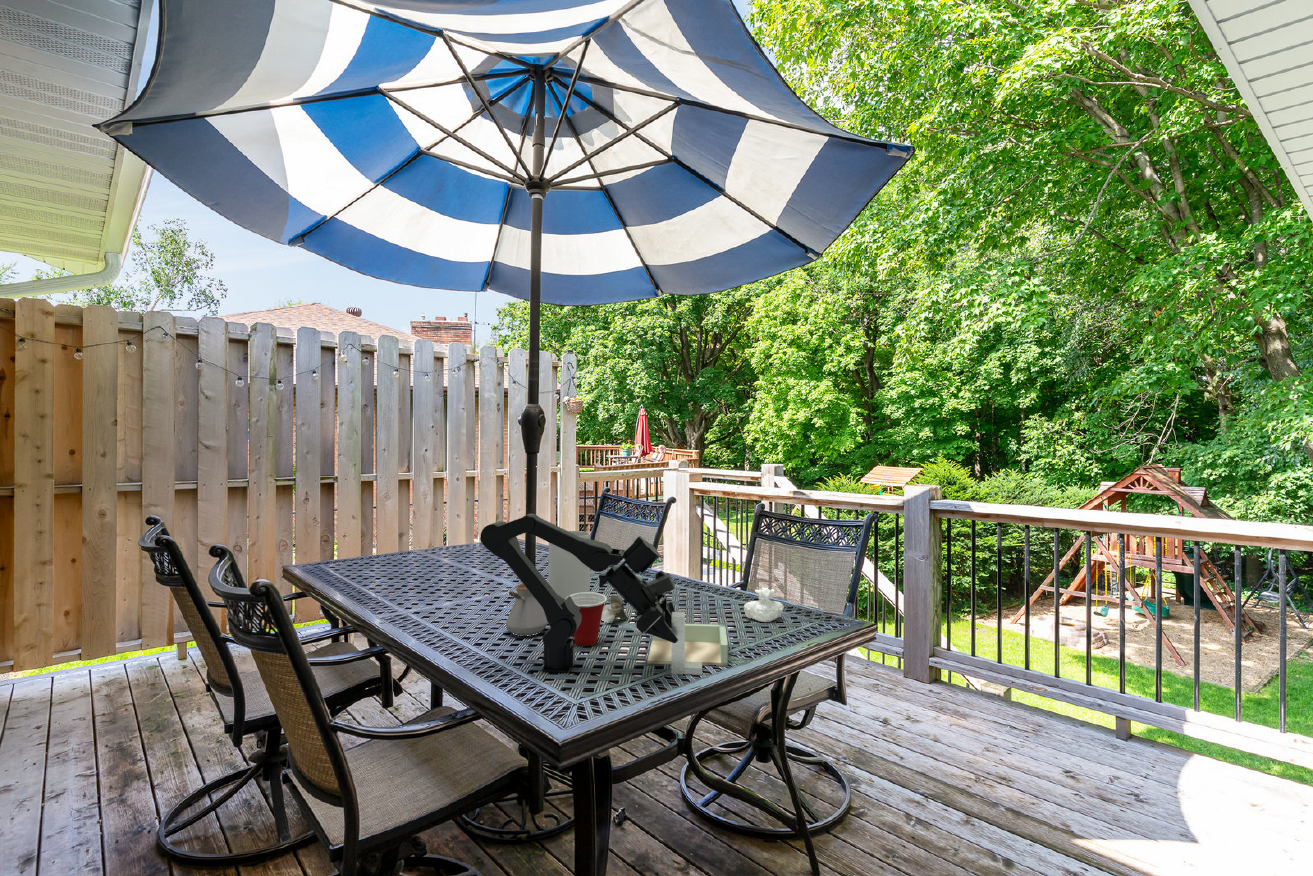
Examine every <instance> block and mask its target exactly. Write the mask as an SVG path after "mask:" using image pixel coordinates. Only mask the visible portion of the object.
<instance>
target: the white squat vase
mask: <svg viewBox="0 0 1313 876" xmlns="http://www.w3.org/2000/svg"><path fill="white" fill-rule="evenodd" d="M754 591H755V593H756V594H758V600H752V601H747V602H746V603H744V605H743V610H744V613H745V616H746V618H748V619H751V618H752V619H753V620H755V621H758V622H761V623H771V622H773V621H774V620H776V619H779V618H780V617H781V615H782V613H783V611H784V607H785V606H784V604H782V602H779V601H775V600H773V595H774V594H775V589H773V588H772V589H769V588H768V586H766V587H764V586H762V588H761V589H756V588H755V589H754Z"/></svg>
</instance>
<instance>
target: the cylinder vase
mask: <svg viewBox="0 0 1313 876" xmlns="http://www.w3.org/2000/svg"><path fill="white" fill-rule="evenodd" d="M567 531H568V532H571V533H573V534H575V535H577V536H579V537H581V538H585V539H590V540H591V533H590V532H588V531H581V530H567ZM547 582H548V584H549V585H550V586H551V587H552V589H553V590H554V591H555V592H556V593H557V595H559V596H560V597H562V598H563V599H565V600H566V598H567V597H568V596H570V595H572V594H576V593H582V592H591V591H590V590H591V584H590V583H591V569H590V568H589V567H587V566H586V565H584V564H583V563H582V562H581V561H580V560H579V559H578V558H577V557H576V556H574V555H573V554H572V553H570V552H568V551H566V550H564V549H562V548H559V547H557V546H555V545H553V544H551V543H549V542H548V580H547Z"/></svg>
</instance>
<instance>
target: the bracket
mask: <svg viewBox="0 0 1313 876" xmlns="http://www.w3.org/2000/svg"><path fill="white" fill-rule="evenodd" d="M685 624H686V612H685V611H675V612H672V631H673V633H674V634H675V636H676V637H677V639H678V641H677V642H676V643H672V647H671V664H670V666H671V667H670V668H671V669H670V671H671V672H670V674H671V675H683V674H692V675H691V676H694V675H695V676H703V665H702V662H685Z"/></svg>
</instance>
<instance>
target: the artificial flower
mask: <svg viewBox="0 0 1313 876" xmlns="http://www.w3.org/2000/svg"><path fill="white" fill-rule="evenodd" d="M623 600H624V598H623V597H622V596H621V595H610V597H609V598H608V603H609V604H605V605H604V607H603V611H602V617H601V620H602V621H604V622H607V623H606V624H609V623H610V624H612V623H613V621H614V620H615V618H616V617H618V618H619V620H621V619H630V618H628V617H627V614H626V612H625V606H624V602H623ZM667 608H668V610H669V611H670V613H671V615H672V612H676V611H675V606H674V604H673V602H672V601H669V602H667ZM637 618H638V617H635V618H634V617H633V618H632V619H634V620H633V621H637Z"/></svg>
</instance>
